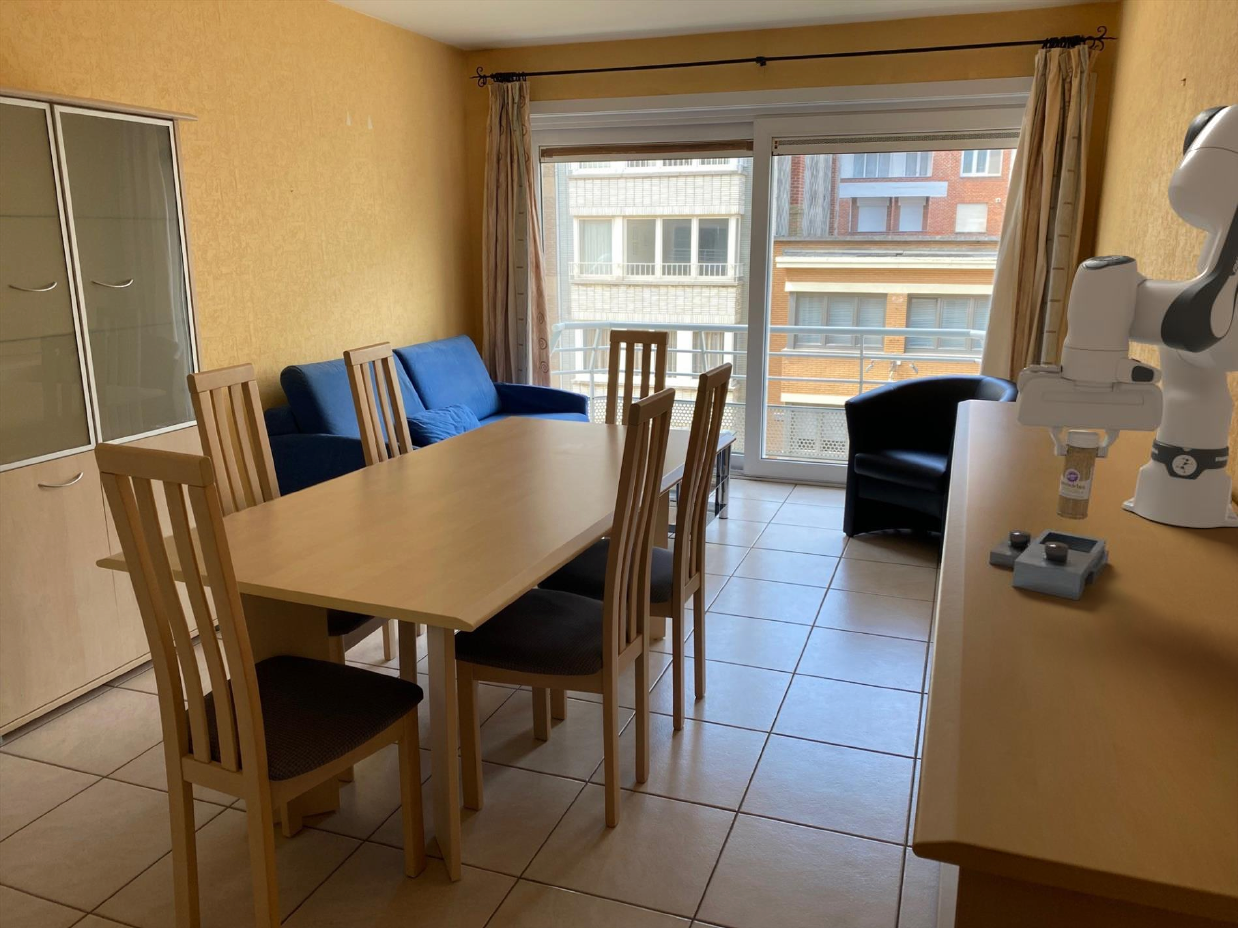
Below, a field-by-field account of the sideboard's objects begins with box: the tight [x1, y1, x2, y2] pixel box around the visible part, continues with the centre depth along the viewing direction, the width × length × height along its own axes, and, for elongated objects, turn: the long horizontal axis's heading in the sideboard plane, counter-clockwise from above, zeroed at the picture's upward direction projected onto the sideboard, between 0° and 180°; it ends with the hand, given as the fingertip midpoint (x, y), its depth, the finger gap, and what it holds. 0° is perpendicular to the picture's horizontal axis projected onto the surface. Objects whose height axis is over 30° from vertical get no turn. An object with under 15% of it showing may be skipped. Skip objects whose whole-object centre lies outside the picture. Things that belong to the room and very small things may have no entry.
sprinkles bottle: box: [1055, 429, 1101, 521], centre depth 140 cm, size 5×5×14 cm
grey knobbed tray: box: [988, 529, 1110, 585], centre depth 145 cm, size 12×15×4 cm
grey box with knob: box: [1011, 528, 1107, 601], centre depth 140 cm, size 19×9×6 cm, turn 143°
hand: (1080, 456), depth 140 cm, fingers closed on sprinkles bottle, 4 cm apart
